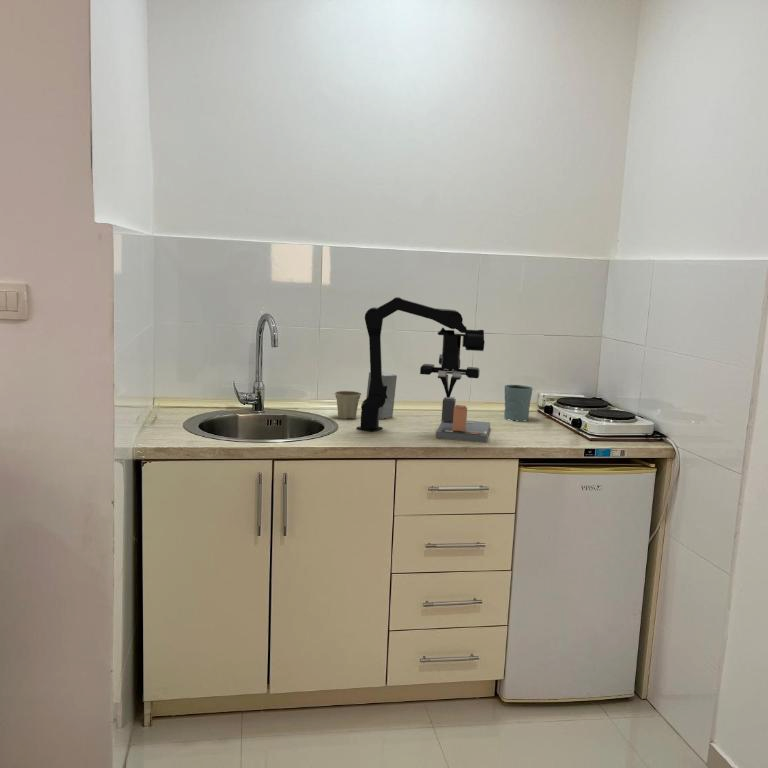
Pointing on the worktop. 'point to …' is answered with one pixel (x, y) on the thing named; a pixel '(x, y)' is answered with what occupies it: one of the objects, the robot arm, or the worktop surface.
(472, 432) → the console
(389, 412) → the grey vase
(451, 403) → the switch knob
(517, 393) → the blue-grey tapered cup
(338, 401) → the flower pot
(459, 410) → the switch knob
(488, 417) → the worktop surface
